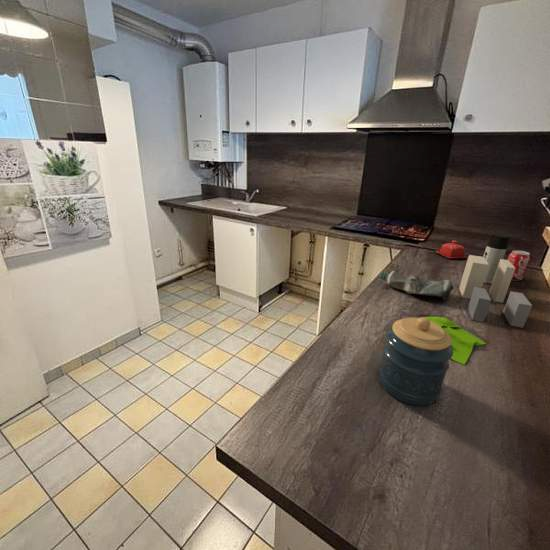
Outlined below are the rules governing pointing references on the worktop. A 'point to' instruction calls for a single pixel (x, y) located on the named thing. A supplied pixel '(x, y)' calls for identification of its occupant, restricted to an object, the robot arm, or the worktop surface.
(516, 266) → the soda can
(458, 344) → the cloth
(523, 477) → the worktop surface
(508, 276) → the cream book
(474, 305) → the pair of grey pillars
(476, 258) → the beige rectangular block
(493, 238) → the spray can
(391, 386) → the canister
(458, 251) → the butter dish
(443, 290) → the crushed plastic bottle
